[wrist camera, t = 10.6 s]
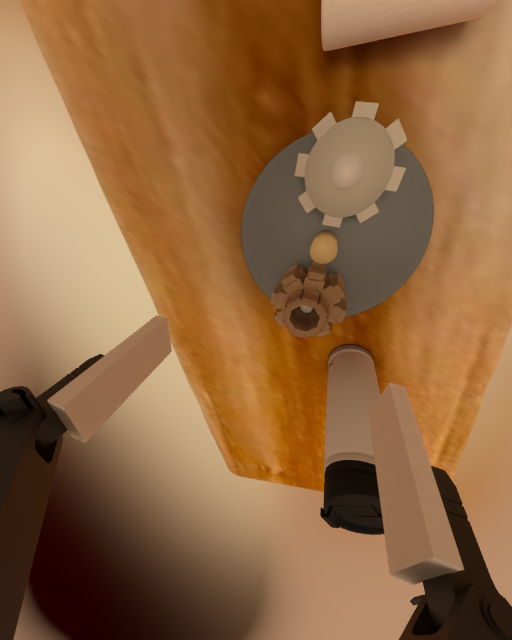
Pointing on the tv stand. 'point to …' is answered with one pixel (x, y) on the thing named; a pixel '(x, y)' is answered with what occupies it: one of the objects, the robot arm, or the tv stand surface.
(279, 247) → the carrier
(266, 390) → the tv stand surface
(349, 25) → the mug
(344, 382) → the travel mug
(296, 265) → the oak gear
